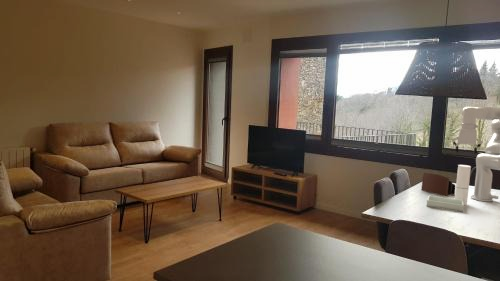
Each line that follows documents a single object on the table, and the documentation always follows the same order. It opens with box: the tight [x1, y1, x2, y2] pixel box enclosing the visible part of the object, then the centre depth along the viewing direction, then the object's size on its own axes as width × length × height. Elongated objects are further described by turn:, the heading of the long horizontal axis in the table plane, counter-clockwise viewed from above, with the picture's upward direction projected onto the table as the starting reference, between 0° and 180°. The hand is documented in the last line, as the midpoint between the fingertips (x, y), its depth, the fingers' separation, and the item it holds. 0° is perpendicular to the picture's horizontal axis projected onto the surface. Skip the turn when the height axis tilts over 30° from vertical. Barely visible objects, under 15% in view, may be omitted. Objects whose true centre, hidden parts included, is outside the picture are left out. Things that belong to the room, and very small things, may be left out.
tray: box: [426, 195, 465, 213], centre depth 236 cm, size 20×14×4 cm
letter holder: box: [421, 172, 456, 198], centre depth 272 cm, size 10×20×14 cm, turn 32°
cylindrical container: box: [454, 164, 472, 206], centre depth 243 cm, size 7×7×25 cm
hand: (465, 153), depth 241 cm, fingers open, 9 cm apart
